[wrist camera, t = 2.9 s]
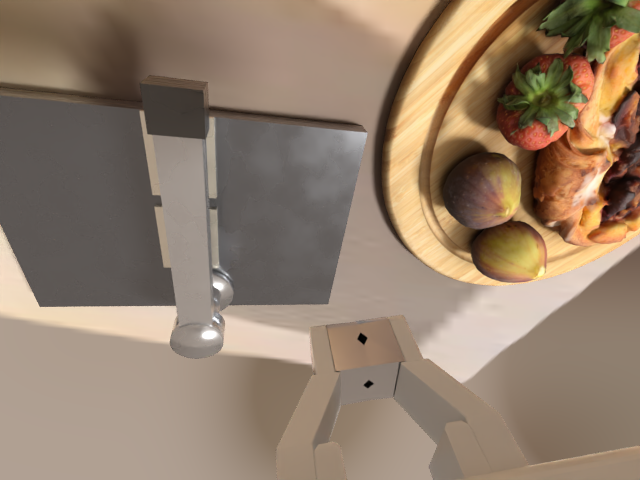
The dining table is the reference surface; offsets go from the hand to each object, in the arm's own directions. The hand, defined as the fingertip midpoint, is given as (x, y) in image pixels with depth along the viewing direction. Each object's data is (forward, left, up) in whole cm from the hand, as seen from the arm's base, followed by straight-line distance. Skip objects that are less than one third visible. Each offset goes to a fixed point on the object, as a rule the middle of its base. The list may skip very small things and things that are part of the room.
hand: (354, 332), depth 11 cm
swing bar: (+6, -7, -13) cm, 16 cm away
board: (+8, -8, -19) cm, 22 cm away
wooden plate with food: (-2, +23, -19) cm, 30 cm away
